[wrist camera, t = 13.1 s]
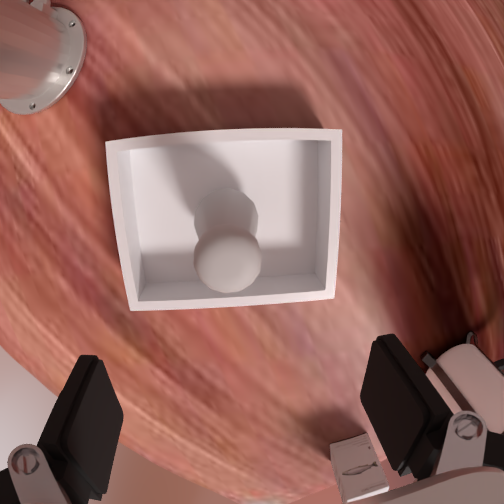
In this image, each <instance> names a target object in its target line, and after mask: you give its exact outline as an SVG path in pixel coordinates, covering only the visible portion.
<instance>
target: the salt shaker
mask: <svg viewBox="0 0 504 504" xmlns="http://www.w3.org/2000/svg"><path fill="white" fill-rule="evenodd" d="M258 217H259V216H258V213H257V210H256V207H255V204H254V202H253V201H252V200H251V199H249V198H248V197H247V196H246V195H245V194H244V193H243V192H240V191H237V190H234V189H230V188H226V189H219V190H214V191H213V192H211V193H210V194H208V195H207V196H205V197H204V198H202V200H201V201H200V203H199V205H198V207H197V208H196V210H195V217H194V227H195V230H196V233H197V236H198V239H199V241H198V242H197V244H196V246H195V248H194V260H193V265H194V268H195V270H196V273H197V275H198V277H199V279H200V281H201V282H203V283H204V284H205V285H206V286H207V287H209V288H210V289H211V290H215V291H218V292H222V293H232V292H239V291H241V290H243V289H245V288H246V287H248V286H249V285H251V284H252V283H253V282H254V280H255V279H256V277H257V276H258V274H259V273H260V269H261V260H262V252H261V250H260V247H259V244H258V241H257V239H256V237H255V236H256V233H257V227H258Z"/></svg>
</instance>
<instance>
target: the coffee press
mask: <svg viewBox="0 0 504 504" xmlns="http://www.w3.org/2000/svg"><path fill="white" fill-rule="evenodd" d="M473 334H474V343H475V345H476V347H477V348H476V347H475V346H474V345H471V344H470V337H471V336H472V335H473ZM420 358H421V359H422V360H423V361H424V362H425V363H426V364H427V365H428V366H429V367H430V368H429V369H428V371H427V373H426V374H425V375H426V376H427V377H428V379H429V380H430V381H431V383H432V384H433V386H434V387H435V388H436V390H437V391H438V393H439V394H440V395H441V397H442V398H443V400H444V401H445V402H446V404H447V405H448V407H449V408H450V410H451V411H452V412H453V414H456V413H458V412H460V411H472V412H474V413H477V414H478V415H480V416H481V417H482V418H483V419H484V421H485V423H486V425H487V431H491V432H495V433H498V434H502V435H504V376H503V375H504V373H503V372H502V371H501V370H502V369H504V359H501V360H498V361H496V362H494V363H493V362H492V360H491V359H490V358H489V357H488V356H487V355H486V354H485V353H484V352H483V351H482V350H481V349H480V348H479V346H478V340H477V335H476V334H475V333H474V332H473V331H470V332H468V334H467V336H466V343H465V344H461V345H457V346H455V347H453V348H451V349H449V350H448V351H446V352H445V353H443V354H442V355H441V356H440V357H439V358H438V359H436V358H435V357H433V356H432V355H431V354H430V353H429V352H428V351H426V352H425V353H424V354H423V355H422V356H421V357H420ZM502 374H503V375H502Z"/></svg>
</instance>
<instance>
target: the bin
mask: <svg viewBox="0 0 504 504" xmlns="http://www.w3.org/2000/svg"><path fill="white" fill-rule="evenodd" d="M105 144H106V157H107V169H108V179H109V188H110V197H111V205H112V212H113V220H114V226H115V233H116V239H117V245H118V251H119V257H120V263H121V268H122V273H123V278H124V283H125V288H126V293H127V298H128V302H129V307H130V311H143V310H174V309H197V308H217V307H234V306H249V305H263V304H277V303H289V302H301V301H312V300H323V299H333V298H334V296H335V285H336V274H337V261H338V247H339V230H340V211H341V183H342V130H338V129H311V128H253V129H226V130H208V131H194V132H181V133H170V134H161V135H151V136H143V137H135V138H127V139H120V140H113V141H107V142H105ZM226 188H230V189H234V190H237V191H240V192H243V193H244V194H245V195H246V196H247V197H248V198H249V199H251V200H252V201H253V202H254V204H255V207H256V210H257V213H258V216H259V217H258V227H257V233H256V236H255V237H256V239H257V241H258V244H259V247H260V250H261V252H262V260H261V269H260V273H259V274H258V276H257V277H256V279H255V280H254V282H253V283H252V284H251V285H249V286H248V287H246V288H245V289H243V290H241V291H239V292H232V293H222V292H218V291H215V290H211V289H210V288H209V287H207V286H206V285H205V284H204V283H203V282H201V281H200V279H199V277H198V275H197V273H196V270H195V268H194V265H193V260H194V248H195V246H196V244H197V242H198V241H199V239H198V236H197V233H196V230H195V227H194V217H195V210H196V208H197V207H198V205H199V203H200V201H201V200H202V198H204V197H205V196H207V195H208V194H210V193H211V192H213V191H214V190H219V189H226Z"/></svg>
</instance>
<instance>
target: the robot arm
mask: <svg viewBox="0 0 504 504" xmlns="http://www.w3.org/2000/svg"><path fill="white" fill-rule="evenodd" d="M50 6H51V1H50V0H33V2H31V3H30V4H29V0H0V103H1V105H2V106H3V107H4V108H6V109H7V110H8V111H10V112H12V113H15V114H22V115H26V114H34V113H39V112H41V111H43V110H45V109H48V108H49V107H50V106H52V105H53V104H55V103H56V102H57V101H58V100H59V99H61V98H62V97H63V96H64V95H65V93H66V92H67V91H68V90H69V89H70V87H71V86H72V85H73V83H74V81H75V80H76V78H77V76H78V74H79V72H80V70H81V68H82V65H83V62H84V58H85V55H86V48H87V36H86V31H85V28H84V25H83V23H82V22H81V20H80V19H79V18H78V17H77V16H76V15H75V14H74V13H72V12H71V11H69V10H67V9H65V8H62V7H50ZM72 70H73V72H72ZM71 72H72V73H71ZM35 105H36V106H35ZM360 399H361V403H362V405H363V407H364V409H365V411H366V413H367V415H368V417H369V420H370V422H371V424H372V426H373V428H374V430H375V432H376V434H377V437H378V439H379V441H380V443H381V445H382V447H383V450H384V452H385V454H386V456H387V458H388V461H389V463H390V465H391V467H392V469H393V470H395V471H398V473H399V475H400V477H401V476H404V475H407V474H410V473H412V474H413V476H414V478H415V480H414V483H412V484H409V485H406V486H403V487H400V488H397V489H394V490H390V491H387V492H384V493H380V494H377V495H374V496H370V497H367V498H363V499H359V500H355V501H351V502H347V503H343V504H504V435H502V434H498V433H495V432H491V431H487V425H486V423H485V421H484V419H483V418H482V417H481V416H480V415H478V414H477V413H474V412H472V411H460V412H458V413H456V414H453V412H452V411H451V410H450V408H449V407H448V405H447V404H446V402H445V401H444V400H443V398H442V397H441V395H440V394H439V393H438V391H437V390H436V388H435V387H434V386H433V384H432V383H431V381H430V380H429V379H428V377H427V376H426V375H425V373H424V372H423V371H422V369H421V368H420V367H419V366H418V364H417V363H416V362H415V360H414V359H413V358H412V356H411V355H410V354H409V352H408V351H407V350H406V348H405V347H404V346H403V345H402V343H401V342H400V341H399V339H398V338H397V337H396V335H395V334H387V335H381V336H378V337H377V339H376V341H373V343H372V347H371V351H370V356H369V360H368V365H367V369H366V373H365V377H364V381H363V385H362V389H361V393H360ZM122 423H123V411H122V408H121V406H120V403H119V401H118V399H117V396H116V394H115V391H114V389H113V386H112V384H111V381H110V379H109V376H108V374H107V371H106V368H105V366H104V363H103V361H102V360H99V359H98V357H97V356H96V355H80V357H79V358H78V360H77V362H76V364H75V366H74V368H73V370H72V372H71V374H70V376H69V378H68V380H67V382H66V384H65V386H64V388H63V390H62V391H61V393H60V394H59V397H58V399H57V401H56V403H55V405H54V408H53V409H52V412H51V414H50V416H49V418H48V421H47V423H46V425H45V427H44V430H43V432H42V434H41V437H40V439H39V441H38V444H37V446H35V445H32V444H24V445H20V446H18V447H16V448H15V449H14V450H13V451H12V452H11V453H10V455H9V458H8V462H7V463H8V468H6V469H4V470H2V471H0V504H88V501H89V499H94V500H99V501H101V498H102V494H105V493H106V492H107V489H108V484H109V479H110V474H111V469H112V465H113V461H114V456H115V452H116V448H117V443H118V439H119V435H120V431H121V427H122Z"/></svg>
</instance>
